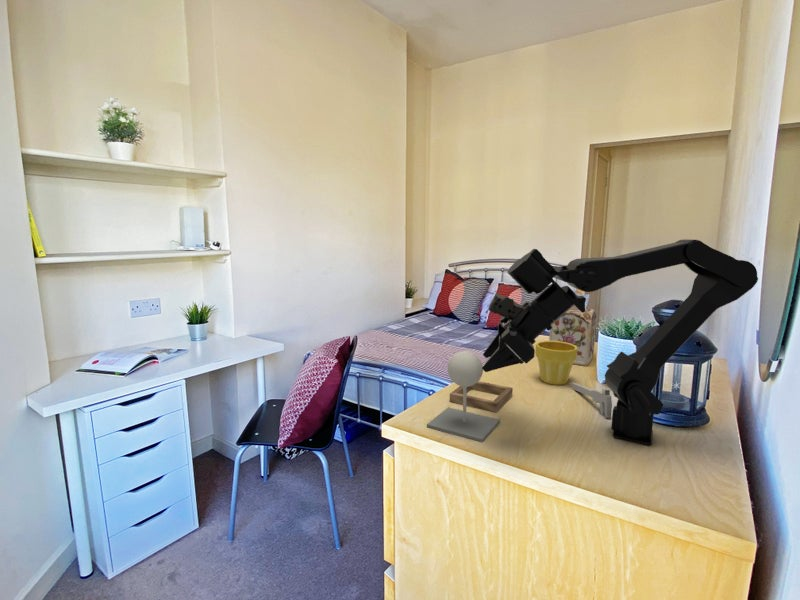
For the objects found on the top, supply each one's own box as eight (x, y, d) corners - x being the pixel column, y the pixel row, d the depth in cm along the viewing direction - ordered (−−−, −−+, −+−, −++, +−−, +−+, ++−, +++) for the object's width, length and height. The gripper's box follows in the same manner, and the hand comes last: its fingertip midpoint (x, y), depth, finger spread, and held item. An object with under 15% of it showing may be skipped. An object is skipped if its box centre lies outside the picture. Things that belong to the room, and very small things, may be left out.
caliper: (611, 420, 89) (613, 392, 88) (606, 420, 89) (608, 392, 88) (572, 385, 110) (573, 362, 109) (568, 385, 110) (569, 362, 109)
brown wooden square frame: (512, 395, 103) (512, 387, 102) (496, 412, 93) (496, 403, 93) (468, 386, 109) (468, 379, 108) (449, 401, 99) (449, 393, 99)
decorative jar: (594, 357, 134) (598, 301, 131) (588, 367, 124) (592, 306, 121) (555, 351, 140) (558, 298, 137) (546, 360, 130) (549, 303, 128)
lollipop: (475, 412, 91) (476, 346, 89) (487, 428, 84) (488, 356, 82) (443, 415, 90) (443, 348, 88) (452, 431, 83) (453, 358, 81)
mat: (499, 422, 88) (500, 419, 88) (482, 442, 80) (482, 439, 80) (448, 409, 95) (448, 407, 94) (426, 427, 86) (426, 424, 86)
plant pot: (581, 380, 113) (583, 344, 112) (565, 390, 106) (567, 352, 104) (544, 371, 120) (546, 338, 119) (527, 380, 113) (528, 345, 111)
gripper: (512, 275, 90) (459, 324, 94) (517, 286, 72) (451, 346, 76) (549, 313, 89) (494, 360, 93) (563, 333, 71) (495, 390, 75)
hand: (484, 362), depth 84 cm, fingers open, 9 cm apart
